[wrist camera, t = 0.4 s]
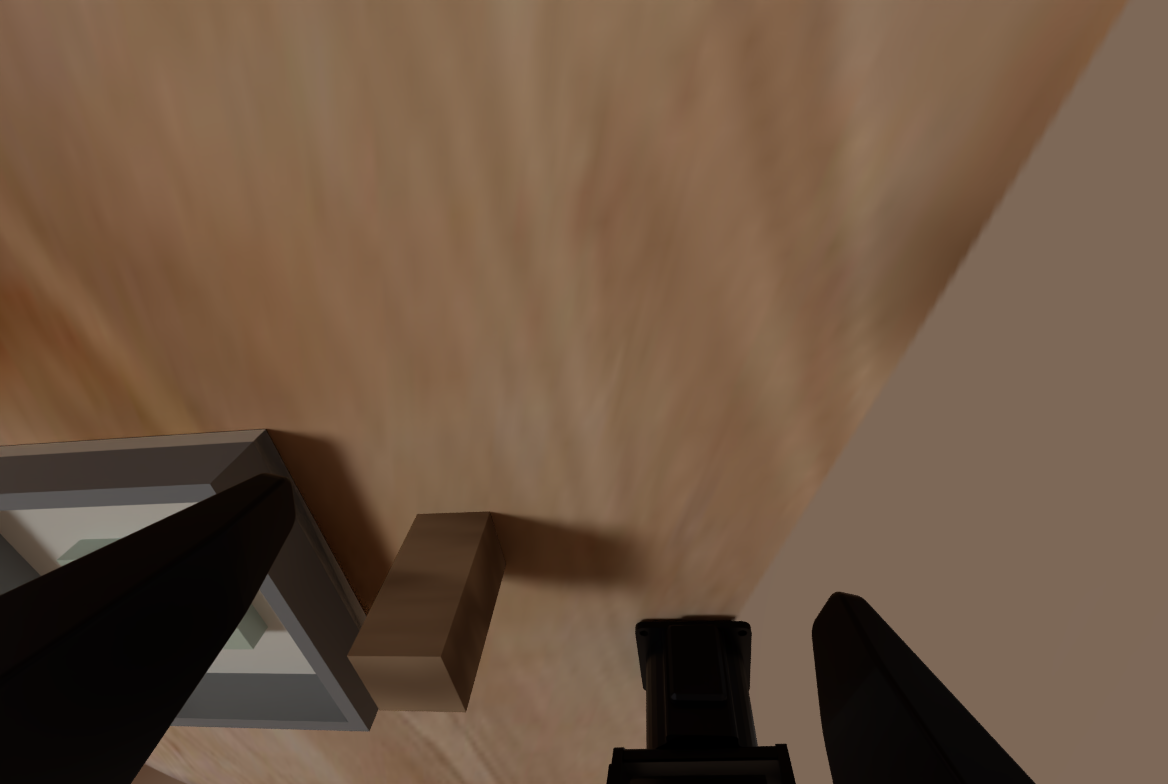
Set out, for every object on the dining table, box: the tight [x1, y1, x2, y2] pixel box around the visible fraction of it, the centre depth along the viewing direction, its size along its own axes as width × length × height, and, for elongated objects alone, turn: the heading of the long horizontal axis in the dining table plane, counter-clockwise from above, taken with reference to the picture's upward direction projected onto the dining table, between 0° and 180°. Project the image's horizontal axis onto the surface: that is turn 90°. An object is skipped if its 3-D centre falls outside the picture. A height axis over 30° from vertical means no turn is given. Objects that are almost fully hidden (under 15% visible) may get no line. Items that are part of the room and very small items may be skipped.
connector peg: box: [347, 512, 506, 712], centre depth 26 cm, size 4×4×8 cm
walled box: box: [0, 429, 379, 731], centre depth 31 cm, size 20×20×4 cm
